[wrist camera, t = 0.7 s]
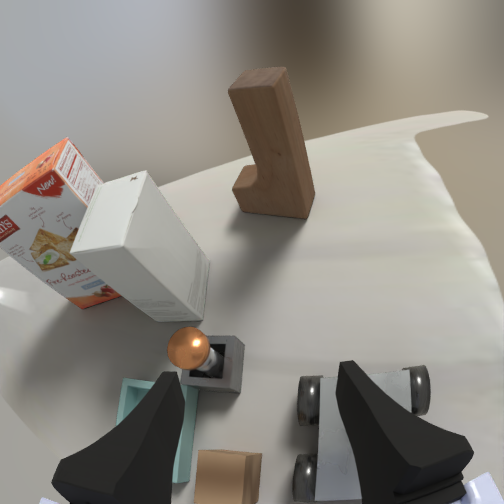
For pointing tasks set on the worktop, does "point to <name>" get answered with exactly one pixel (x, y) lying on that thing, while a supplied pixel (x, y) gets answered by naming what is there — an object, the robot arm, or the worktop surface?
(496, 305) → the worktop surface
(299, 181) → the wooden block
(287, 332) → the worktop surface
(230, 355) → the bracket
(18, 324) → the worktop surface
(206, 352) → the pin
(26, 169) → the cracker box
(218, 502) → the block
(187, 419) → the tray
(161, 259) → the skincare box
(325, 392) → the trolley
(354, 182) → the worktop surface
